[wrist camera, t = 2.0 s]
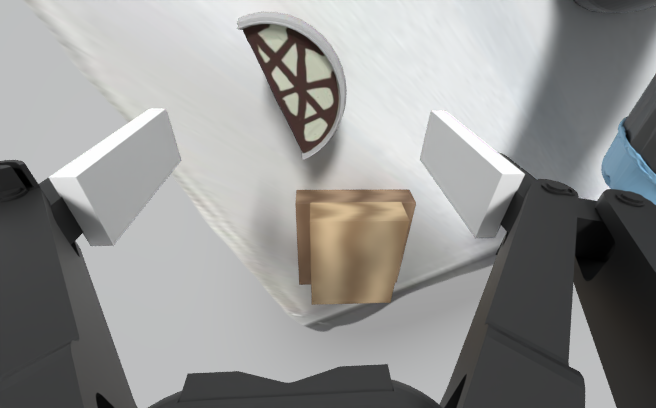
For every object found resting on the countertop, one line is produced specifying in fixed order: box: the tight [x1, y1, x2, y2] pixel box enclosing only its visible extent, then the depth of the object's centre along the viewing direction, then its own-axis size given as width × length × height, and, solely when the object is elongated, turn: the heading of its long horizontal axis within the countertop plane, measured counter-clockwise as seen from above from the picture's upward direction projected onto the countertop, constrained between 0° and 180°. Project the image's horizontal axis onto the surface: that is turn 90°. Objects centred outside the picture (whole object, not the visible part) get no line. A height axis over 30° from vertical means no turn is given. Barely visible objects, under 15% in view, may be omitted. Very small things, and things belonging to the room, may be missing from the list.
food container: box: [237, 12, 346, 160], centre depth 27 cm, size 12×6×10 cm, turn 21°
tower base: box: [296, 190, 416, 285], centre depth 44 cm, size 16×16×4 cm
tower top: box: [310, 202, 409, 305], centre depth 41 cm, size 12×16×4 cm
